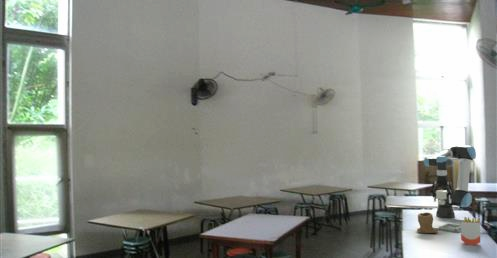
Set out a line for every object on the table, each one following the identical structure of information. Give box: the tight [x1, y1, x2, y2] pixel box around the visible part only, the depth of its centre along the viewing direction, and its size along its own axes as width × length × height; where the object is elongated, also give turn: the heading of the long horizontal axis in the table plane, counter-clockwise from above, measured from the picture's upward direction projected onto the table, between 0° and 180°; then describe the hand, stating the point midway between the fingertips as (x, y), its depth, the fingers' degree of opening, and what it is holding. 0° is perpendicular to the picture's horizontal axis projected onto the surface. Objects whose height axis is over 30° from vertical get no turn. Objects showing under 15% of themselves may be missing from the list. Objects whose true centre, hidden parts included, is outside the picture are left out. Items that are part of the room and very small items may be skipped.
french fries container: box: [460, 216, 481, 246], centre depth 277 cm, size 5×11×18 cm, turn 70°
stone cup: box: [416, 211, 439, 234], centre depth 309 cm, size 15×12×15 cm
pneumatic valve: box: [432, 189, 450, 205], centre depth 336 cm, size 6×12×12 cm, turn 60°
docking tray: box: [437, 222, 461, 234], centre depth 320 cm, size 17×16×2 cm
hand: (442, 202), depth 335 cm, fingers closed on pneumatic valve, 11 cm apart
